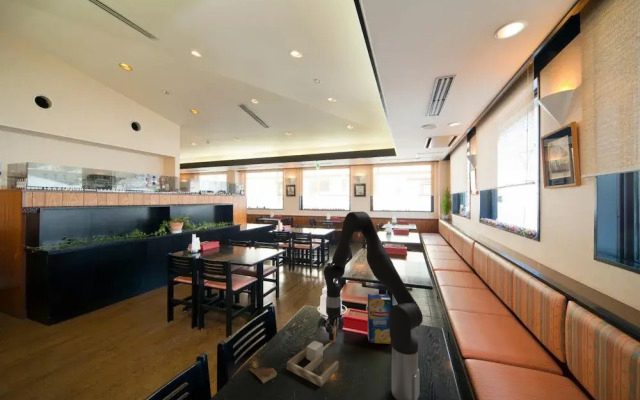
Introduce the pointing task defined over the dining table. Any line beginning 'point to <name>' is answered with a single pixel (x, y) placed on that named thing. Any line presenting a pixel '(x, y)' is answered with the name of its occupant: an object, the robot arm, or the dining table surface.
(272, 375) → the shard
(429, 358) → the dining table surface
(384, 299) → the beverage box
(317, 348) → the corded block
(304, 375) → the birch lanes
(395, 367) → the robot arm
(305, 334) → the dining table surface
